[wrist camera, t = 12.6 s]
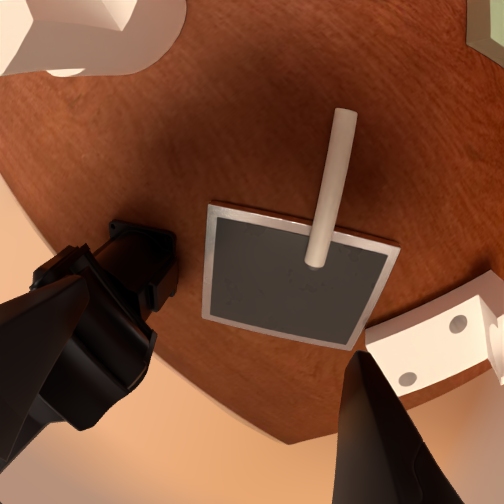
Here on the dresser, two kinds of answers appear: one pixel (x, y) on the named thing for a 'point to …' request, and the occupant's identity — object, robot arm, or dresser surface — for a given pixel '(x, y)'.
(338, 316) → the tablet
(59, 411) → the robot arm
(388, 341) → the bracket
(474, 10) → the pen stand
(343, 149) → the stylus
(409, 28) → the dresser surface
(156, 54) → the cylinder with rectangular tab
